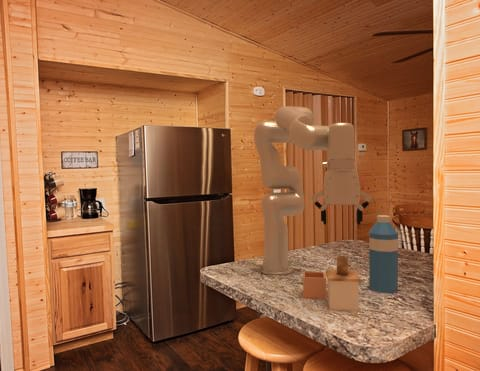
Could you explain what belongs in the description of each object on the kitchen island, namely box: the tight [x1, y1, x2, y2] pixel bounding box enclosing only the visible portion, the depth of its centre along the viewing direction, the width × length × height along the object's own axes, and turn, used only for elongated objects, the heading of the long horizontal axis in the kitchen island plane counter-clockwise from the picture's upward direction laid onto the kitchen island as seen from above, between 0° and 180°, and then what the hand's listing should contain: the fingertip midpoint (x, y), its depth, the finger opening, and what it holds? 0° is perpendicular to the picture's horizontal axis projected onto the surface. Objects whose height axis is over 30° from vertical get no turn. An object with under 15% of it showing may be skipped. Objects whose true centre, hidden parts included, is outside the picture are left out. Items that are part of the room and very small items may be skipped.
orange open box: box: [302, 271, 327, 300], centre depth 118 cm, size 7×7×7 cm
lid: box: [325, 255, 362, 283], centre depth 109 cm, size 9×9×6 cm
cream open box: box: [327, 280, 360, 312], centre depth 109 cm, size 8×8×9 cm
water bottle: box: [368, 214, 399, 294], centre depth 123 cm, size 9×9×25 cm
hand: (341, 223), depth 108 cm, fingers open, 9 cm apart
